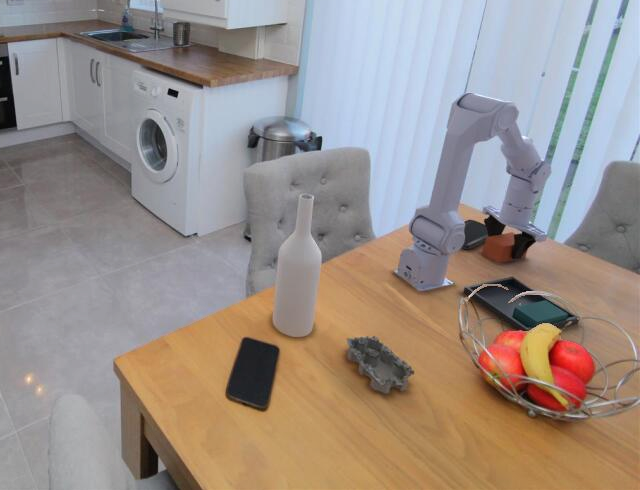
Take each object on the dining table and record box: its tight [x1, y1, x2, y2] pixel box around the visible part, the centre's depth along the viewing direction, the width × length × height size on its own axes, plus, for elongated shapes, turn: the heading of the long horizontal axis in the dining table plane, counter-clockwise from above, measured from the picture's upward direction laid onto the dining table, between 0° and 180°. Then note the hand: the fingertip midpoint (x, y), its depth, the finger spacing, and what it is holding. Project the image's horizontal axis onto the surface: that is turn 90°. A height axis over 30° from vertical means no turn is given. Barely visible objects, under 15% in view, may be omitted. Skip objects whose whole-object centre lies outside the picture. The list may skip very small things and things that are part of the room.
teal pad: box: [512, 300, 568, 328], centre depth 98 cm, size 8×4×2 cm, turn 104°
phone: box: [460, 219, 488, 251], centre depth 129 cm, size 8×1×15 cm
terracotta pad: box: [481, 231, 529, 264], centre depth 119 cm, size 8×5×5 cm, turn 104°
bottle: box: [272, 193, 323, 338], centre depth 95 cm, size 8×8×30 cm
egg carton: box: [346, 335, 415, 395], centre depth 88 cm, size 11×8×4 cm
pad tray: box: [463, 276, 581, 331], centre depth 102 cm, size 13×14×2 cm
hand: (504, 251), depth 120 cm, fingers open, 5 cm apart
